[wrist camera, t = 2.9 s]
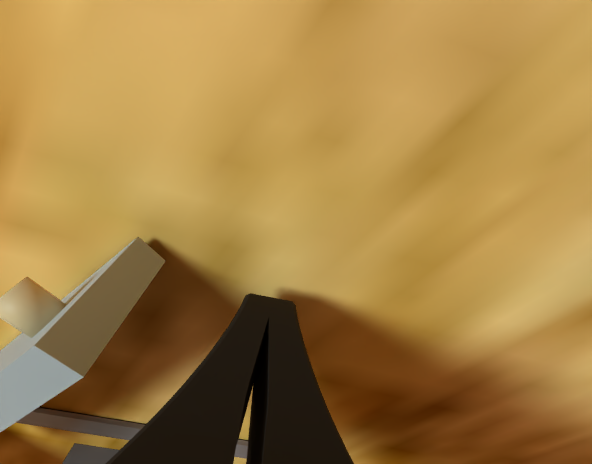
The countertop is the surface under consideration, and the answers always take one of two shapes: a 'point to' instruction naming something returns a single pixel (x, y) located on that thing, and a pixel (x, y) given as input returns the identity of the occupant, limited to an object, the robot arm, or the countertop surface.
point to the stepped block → (89, 455)
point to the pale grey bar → (66, 329)
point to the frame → (96, 426)
